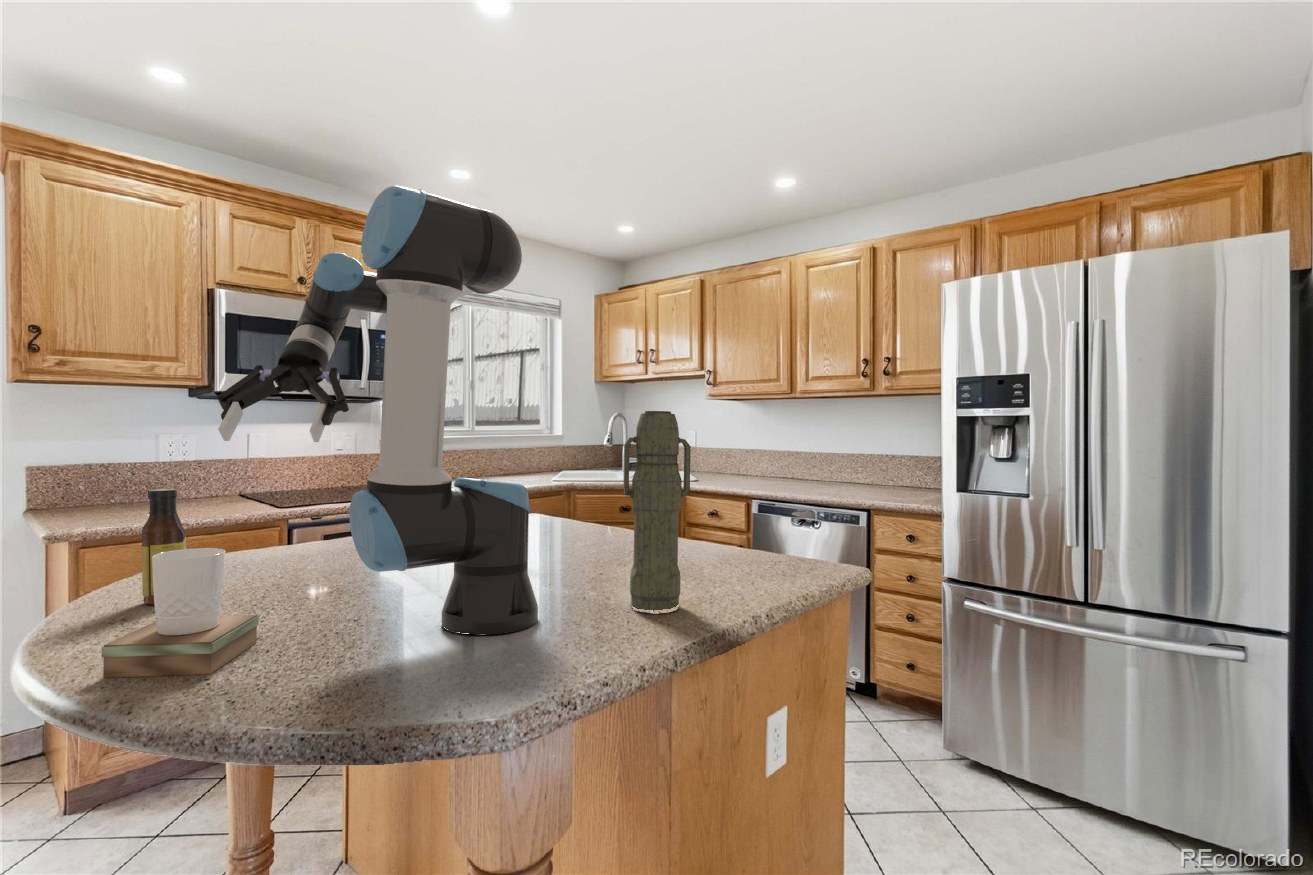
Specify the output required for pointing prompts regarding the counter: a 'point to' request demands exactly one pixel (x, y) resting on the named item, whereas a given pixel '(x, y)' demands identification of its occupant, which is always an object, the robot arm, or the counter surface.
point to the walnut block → (179, 649)
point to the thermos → (656, 509)
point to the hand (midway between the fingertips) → (269, 435)
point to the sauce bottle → (160, 534)
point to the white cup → (188, 590)
